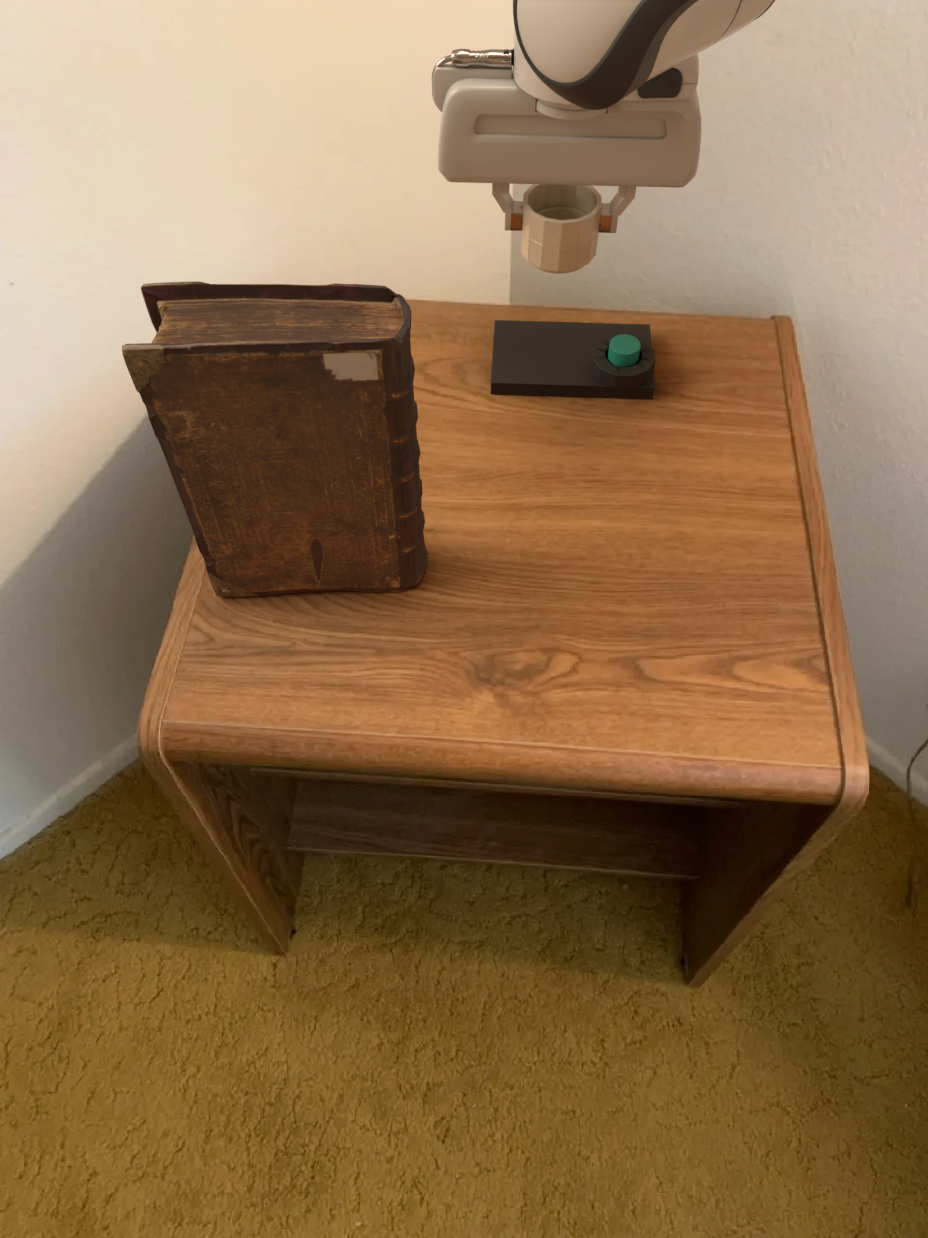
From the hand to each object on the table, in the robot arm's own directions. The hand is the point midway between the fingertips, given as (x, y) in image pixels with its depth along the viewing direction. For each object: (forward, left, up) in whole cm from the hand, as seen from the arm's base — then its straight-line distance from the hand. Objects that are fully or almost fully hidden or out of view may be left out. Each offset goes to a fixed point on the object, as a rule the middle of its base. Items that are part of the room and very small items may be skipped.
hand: (560, 227), depth 78 cm
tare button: (-7, +3, -11) cm, 13 cm away
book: (+18, +27, -14) cm, 35 cm away
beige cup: (0, 0, -2) cm, 2 cm away
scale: (-2, +1, -14) cm, 14 cm away
